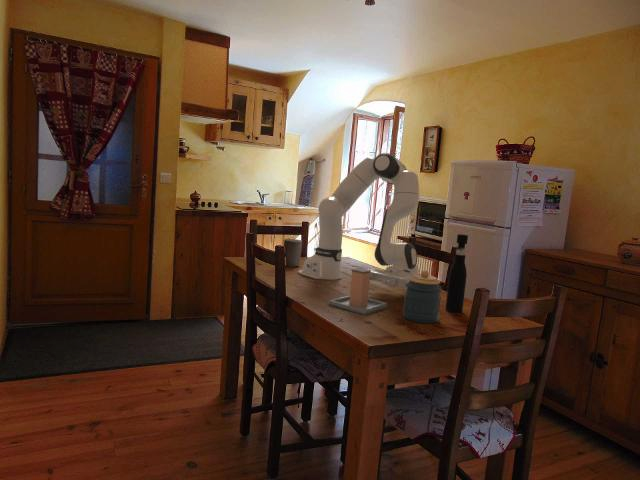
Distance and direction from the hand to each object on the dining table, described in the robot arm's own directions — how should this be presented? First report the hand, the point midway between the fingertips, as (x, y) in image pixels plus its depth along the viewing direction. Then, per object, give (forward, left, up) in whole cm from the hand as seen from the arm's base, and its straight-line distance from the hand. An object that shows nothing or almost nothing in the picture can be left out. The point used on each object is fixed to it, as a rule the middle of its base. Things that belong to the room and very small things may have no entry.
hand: (376, 280), depth 189 cm
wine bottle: (+27, +15, -9) cm, 32 cm away
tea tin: (0, -12, -8) cm, 14 cm away
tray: (0, -12, -9) cm, 15 cm away
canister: (+23, -6, -9) cm, 26 cm away
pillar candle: (-69, +27, -9) cm, 75 cm away
